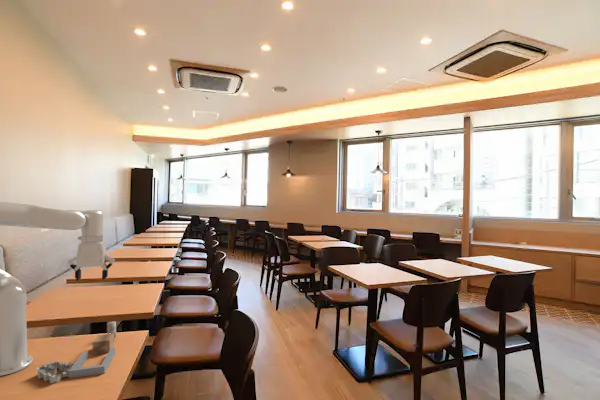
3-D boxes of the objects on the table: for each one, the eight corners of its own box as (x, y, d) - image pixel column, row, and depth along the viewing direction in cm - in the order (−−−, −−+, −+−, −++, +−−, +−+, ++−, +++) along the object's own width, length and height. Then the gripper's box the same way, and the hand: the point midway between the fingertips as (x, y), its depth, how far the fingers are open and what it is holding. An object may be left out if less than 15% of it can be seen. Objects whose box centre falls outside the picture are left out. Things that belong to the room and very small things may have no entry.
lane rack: (68, 378, 110) (68, 371, 109) (83, 357, 123) (83, 351, 122) (104, 373, 113) (104, 366, 112) (115, 353, 126) (115, 347, 125)
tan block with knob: (92, 354, 125) (92, 338, 125) (105, 336, 140) (105, 322, 140) (109, 352, 127) (109, 336, 126) (120, 334, 142) (120, 320, 141)
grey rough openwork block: (75, 374, 112) (75, 363, 112) (51, 386, 105) (50, 374, 105) (58, 366, 117) (58, 355, 117) (34, 377, 110) (34, 366, 110)
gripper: (64, 240, 128) (63, 282, 128) (112, 240, 133) (111, 280, 133) (72, 238, 135) (71, 277, 136) (117, 237, 140) (116, 276, 140)
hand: (91, 279), depth 134 cm, fingers open, 9 cm apart
